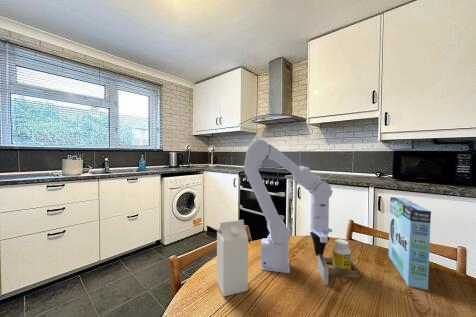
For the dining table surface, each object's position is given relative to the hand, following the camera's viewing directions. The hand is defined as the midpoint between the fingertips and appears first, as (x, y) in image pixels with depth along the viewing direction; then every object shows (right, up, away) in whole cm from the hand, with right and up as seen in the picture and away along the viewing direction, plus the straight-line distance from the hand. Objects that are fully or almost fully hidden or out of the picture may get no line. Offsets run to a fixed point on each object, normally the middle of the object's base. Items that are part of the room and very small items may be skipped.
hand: (318, 255), depth 69 cm
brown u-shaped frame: (+7, -4, -2) cm, 8 cm away
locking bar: (-1, -4, -6) cm, 7 cm away
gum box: (+28, -5, -2) cm, 28 cm away
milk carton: (-30, -4, -11) cm, 32 cm away
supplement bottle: (+7, -4, -2) cm, 8 cm away
